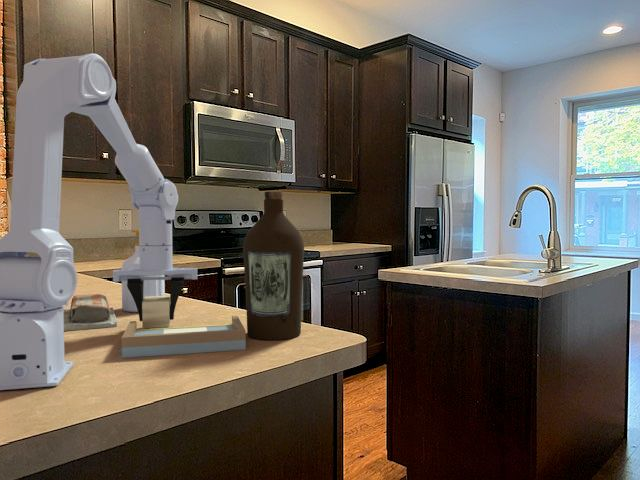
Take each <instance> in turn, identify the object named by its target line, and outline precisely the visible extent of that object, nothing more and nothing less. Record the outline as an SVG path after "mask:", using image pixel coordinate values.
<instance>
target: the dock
mask: <svg viewBox="0 0 640 480" xmlns="http://www.w3.org/2000/svg"><path fill="white" fill-rule="evenodd" d="M137 324H138V323H137V320H132V321H131V320H130V321H129V323H128V325H127V326H126V329H125V331H124V332H123V334H122V336H121V358H122V359H125V358H142V357H157V356H170V355H183V354H184V355H185V354H187V355H188V354H199V353H201V354H202V353H213V352H229V351H242V350H244V351H245V350H246V349H247V348H246V347H247V346H246V343H247V342H246V338H247V337H246V329H245V327H244V325H243V322H242V321H241V320H240V318H239V316H238V315H232V316H231V323H226V324H207V325H190V326H175V327H173V326H172V327H171V326H169V328H163V327H154V328H150V329H144V328H140V329H139V328H137Z"/></svg>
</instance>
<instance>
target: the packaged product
mask: <svg viewBox="0 0 640 480" xmlns="http://www.w3.org/2000/svg"><path fill="white" fill-rule="evenodd" d="M63 314H64V332H69V331H70V332H71V331H81V330H95V329H104V328H105V329H106V328H108V329H109V328H116V327H117V326H118V320H117V317H116V314H115V311H114V307H110V306H109V303H108V300H107V297H106V296H105V294H100V293H90V294H77V295H76V294H75V295H73V296H72V298H71V303H70V309H69V308H65V309H64V308H63Z"/></svg>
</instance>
